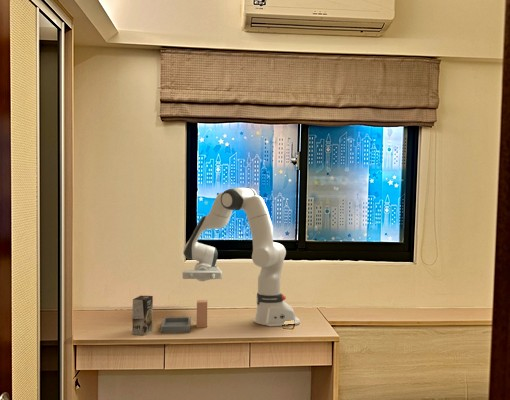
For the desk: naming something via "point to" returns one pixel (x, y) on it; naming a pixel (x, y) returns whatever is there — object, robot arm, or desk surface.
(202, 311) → the block
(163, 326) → the tray
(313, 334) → the desk surface
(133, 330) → the coffee box
